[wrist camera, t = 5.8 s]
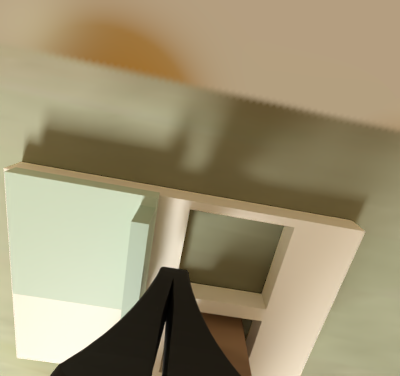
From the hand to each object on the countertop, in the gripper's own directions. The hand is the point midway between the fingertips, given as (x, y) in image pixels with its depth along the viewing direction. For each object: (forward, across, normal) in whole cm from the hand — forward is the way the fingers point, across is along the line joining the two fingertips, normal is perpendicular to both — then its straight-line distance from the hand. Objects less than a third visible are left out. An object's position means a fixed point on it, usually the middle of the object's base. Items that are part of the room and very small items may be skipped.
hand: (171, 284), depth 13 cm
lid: (+2, +5, 0) cm, 6 cm away
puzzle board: (+4, 0, +3) cm, 5 cm away
